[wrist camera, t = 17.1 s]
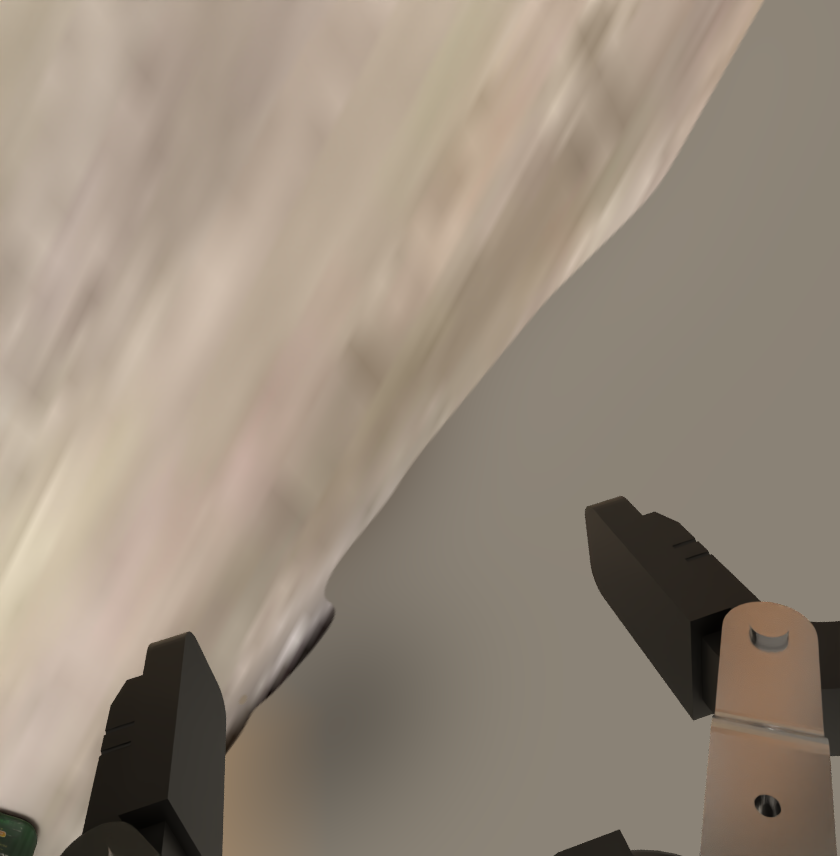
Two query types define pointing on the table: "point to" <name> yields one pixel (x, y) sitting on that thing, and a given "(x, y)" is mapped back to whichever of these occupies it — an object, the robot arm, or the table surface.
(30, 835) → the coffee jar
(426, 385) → the table surface
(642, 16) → the table surface
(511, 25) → the table surface
